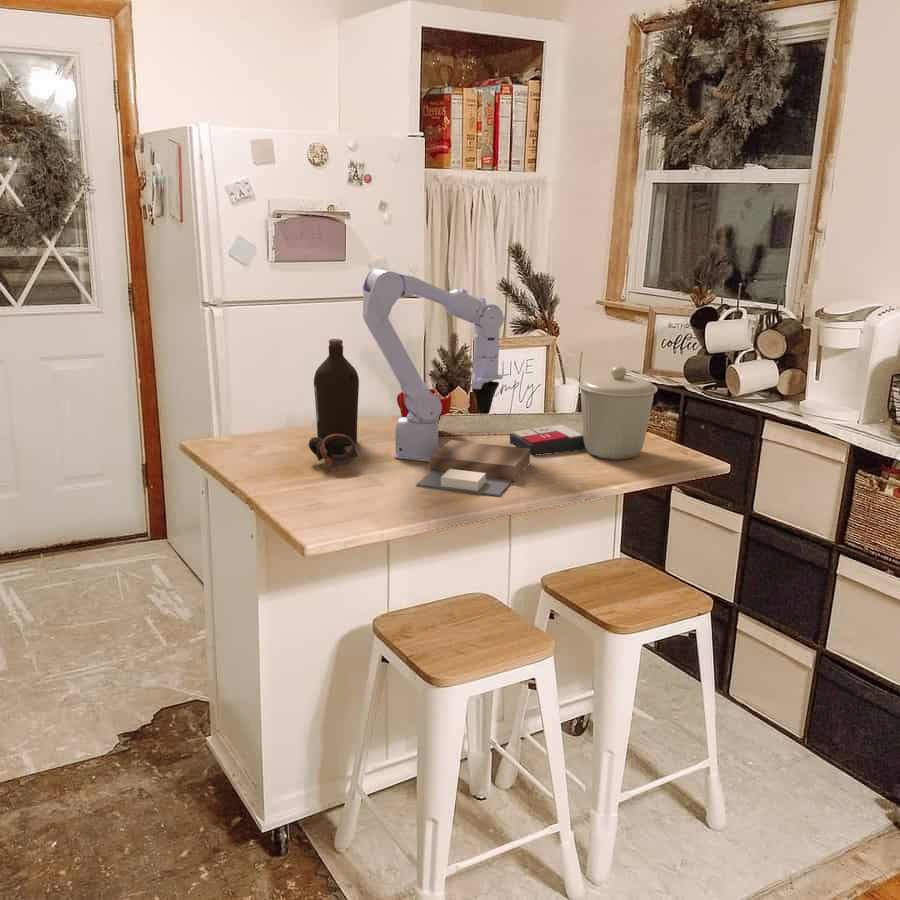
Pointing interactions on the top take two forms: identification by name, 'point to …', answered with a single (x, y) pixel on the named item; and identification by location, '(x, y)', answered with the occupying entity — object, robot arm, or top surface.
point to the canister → (615, 413)
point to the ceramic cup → (445, 402)
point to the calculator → (548, 439)
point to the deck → (481, 459)
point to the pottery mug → (333, 450)
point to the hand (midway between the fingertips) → (484, 413)
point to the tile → (463, 479)
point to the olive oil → (336, 395)
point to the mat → (489, 487)
